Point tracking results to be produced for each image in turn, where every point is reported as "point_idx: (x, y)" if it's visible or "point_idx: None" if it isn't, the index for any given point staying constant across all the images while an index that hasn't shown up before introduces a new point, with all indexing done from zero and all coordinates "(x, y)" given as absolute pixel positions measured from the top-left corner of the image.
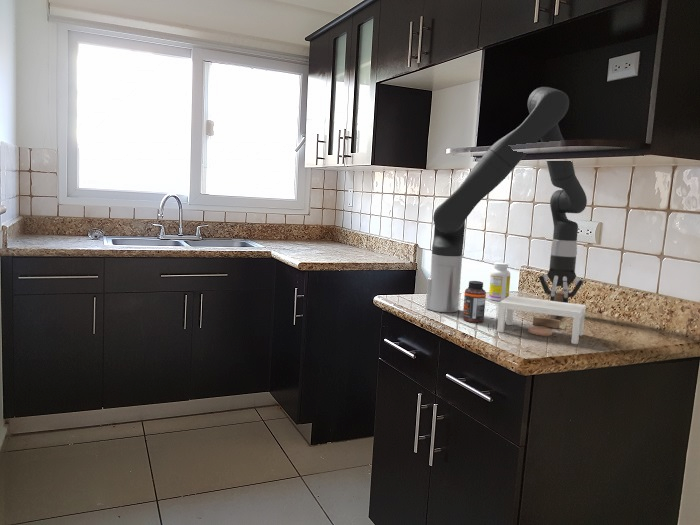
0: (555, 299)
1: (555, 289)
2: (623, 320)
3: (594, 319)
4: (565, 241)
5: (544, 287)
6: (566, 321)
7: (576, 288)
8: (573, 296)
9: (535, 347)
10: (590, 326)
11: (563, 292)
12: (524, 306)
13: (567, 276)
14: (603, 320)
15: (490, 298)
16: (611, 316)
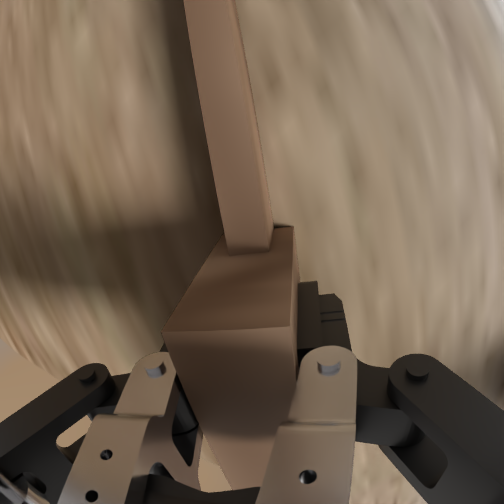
0: (271, 290)
1: (285, 422)
2: (3, 324)
3: (42, 251)
4: None
5: (474, 411)
6: (117, 20)
7: (17, 425)
8: (85, 367)
9: None
10: (8, 43)
11: (251, 484)
12: None
13: None
14: (18, 262)
15: None
16: (57, 376)
